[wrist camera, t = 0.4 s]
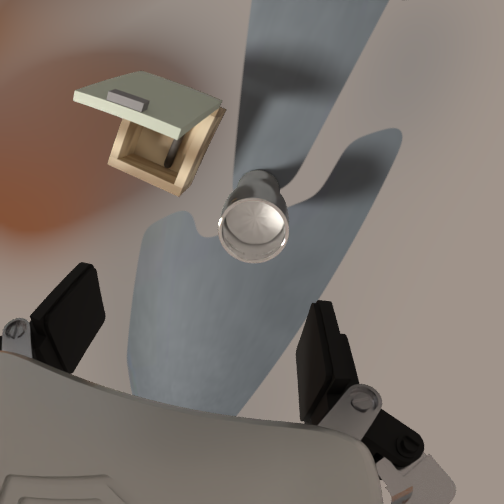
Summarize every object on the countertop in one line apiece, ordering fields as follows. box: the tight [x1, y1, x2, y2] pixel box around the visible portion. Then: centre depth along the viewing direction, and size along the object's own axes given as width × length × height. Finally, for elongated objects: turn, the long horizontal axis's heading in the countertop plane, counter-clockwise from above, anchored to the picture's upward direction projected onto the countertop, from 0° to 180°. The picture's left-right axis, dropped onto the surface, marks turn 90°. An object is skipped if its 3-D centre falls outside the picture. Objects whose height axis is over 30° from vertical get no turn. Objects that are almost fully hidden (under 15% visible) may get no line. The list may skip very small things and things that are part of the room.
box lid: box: [73, 71, 222, 140], centre depth 23 cm, size 12×11×2 cm
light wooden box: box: [108, 107, 226, 197], centre depth 33 cm, size 12×11×6 cm
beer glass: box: [218, 170, 289, 263], centre depth 33 cm, size 7×7×15 cm
